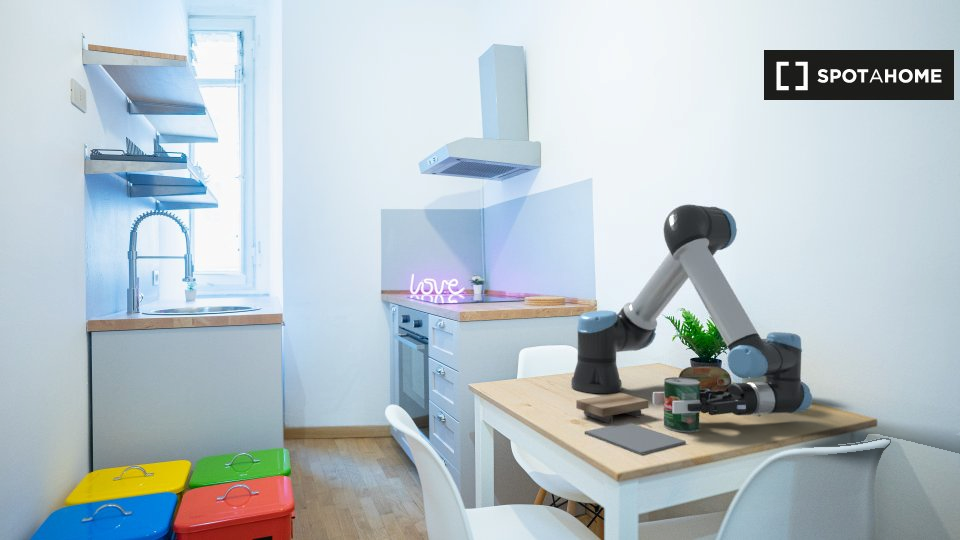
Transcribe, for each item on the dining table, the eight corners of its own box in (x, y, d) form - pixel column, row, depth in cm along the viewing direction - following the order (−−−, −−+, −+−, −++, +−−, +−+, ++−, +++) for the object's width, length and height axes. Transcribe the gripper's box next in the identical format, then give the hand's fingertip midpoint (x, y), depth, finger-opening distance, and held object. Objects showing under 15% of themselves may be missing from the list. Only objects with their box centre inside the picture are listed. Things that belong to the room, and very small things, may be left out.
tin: (680, 396, 161) (681, 367, 161) (676, 393, 164) (677, 365, 164) (731, 396, 161) (732, 367, 161) (726, 393, 165) (727, 365, 164)
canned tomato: (706, 428, 128) (707, 381, 128) (686, 434, 124) (686, 385, 124) (676, 420, 135) (677, 375, 135) (656, 425, 130) (657, 379, 130)
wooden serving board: (576, 416, 138) (576, 400, 138) (621, 407, 146) (621, 392, 146) (602, 425, 130) (602, 408, 130) (648, 416, 139) (648, 400, 139)
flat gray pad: (584, 433, 124) (584, 431, 124) (628, 424, 131) (628, 422, 131) (640, 454, 110) (640, 452, 110) (685, 443, 118) (685, 440, 118)
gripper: (780, 426, 123) (688, 432, 118) (720, 403, 143) (640, 407, 138) (780, 393, 123) (689, 397, 118) (721, 374, 143) (640, 377, 138)
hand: (663, 402), depth 128 cm, fingers closed on canned tomato, 8 cm apart
